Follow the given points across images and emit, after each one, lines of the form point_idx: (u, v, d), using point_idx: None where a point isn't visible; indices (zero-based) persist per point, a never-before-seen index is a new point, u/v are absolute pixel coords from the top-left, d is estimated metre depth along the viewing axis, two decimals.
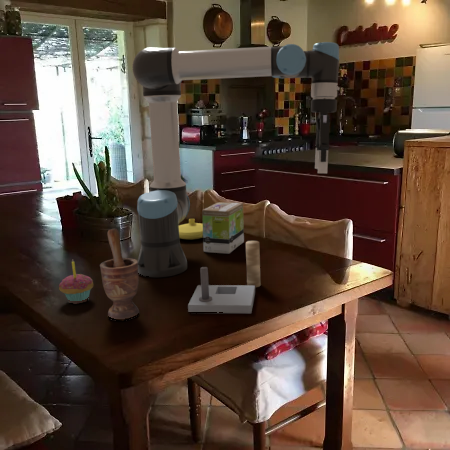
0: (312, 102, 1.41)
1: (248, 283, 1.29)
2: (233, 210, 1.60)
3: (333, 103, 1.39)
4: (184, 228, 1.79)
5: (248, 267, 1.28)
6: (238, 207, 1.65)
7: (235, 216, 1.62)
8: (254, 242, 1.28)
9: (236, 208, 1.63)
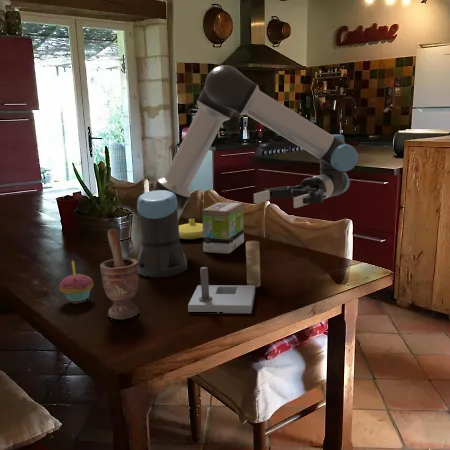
0: (317, 178, 1.45)
1: (248, 283, 1.29)
2: (233, 210, 1.60)
3: None
4: (184, 228, 1.79)
5: (248, 267, 1.28)
6: (238, 207, 1.65)
7: (235, 216, 1.62)
8: (254, 242, 1.28)
9: (236, 208, 1.63)
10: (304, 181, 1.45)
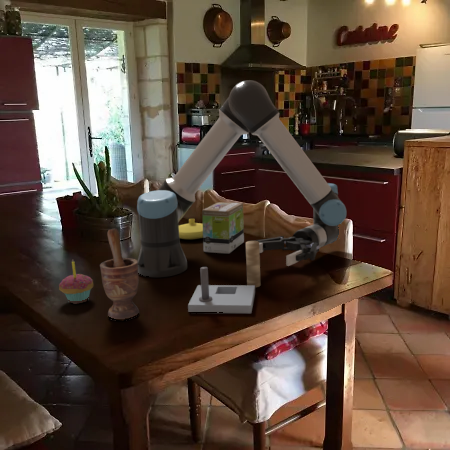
0: (311, 230, 1.45)
1: (248, 283, 1.29)
2: (233, 210, 1.60)
3: None
4: (184, 228, 1.79)
5: (248, 267, 1.28)
6: (238, 207, 1.65)
7: (235, 216, 1.62)
8: (254, 242, 1.27)
9: (236, 208, 1.63)
10: (297, 232, 1.45)
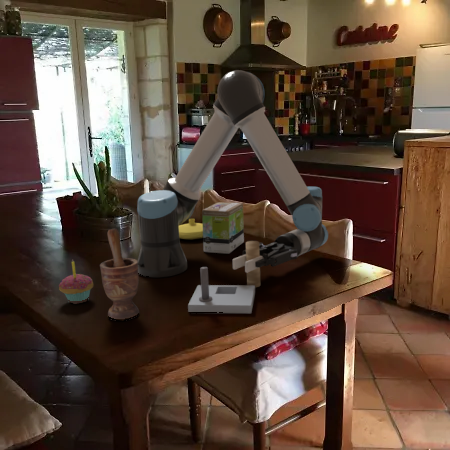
0: (293, 235, 1.39)
1: (248, 283, 1.29)
2: (233, 210, 1.60)
3: (296, 256, 1.39)
4: (184, 228, 1.79)
5: None
6: (238, 207, 1.65)
7: (235, 216, 1.62)
8: (254, 242, 1.27)
9: (236, 208, 1.63)
10: (279, 238, 1.39)
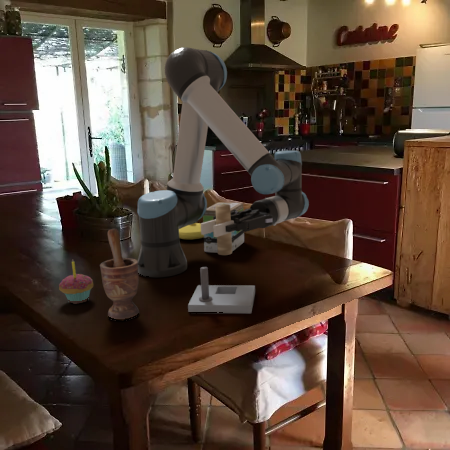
0: (269, 201, 1.28)
1: (218, 250, 1.19)
2: None
3: (273, 223, 1.29)
4: (184, 228, 1.79)
5: None
6: (239, 207, 1.65)
7: None
8: (224, 205, 1.17)
9: (237, 208, 1.63)
10: (254, 204, 1.29)
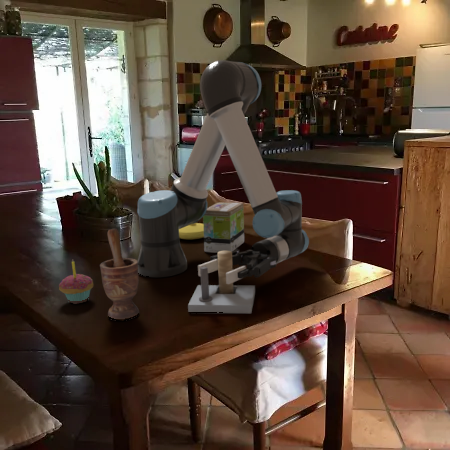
0: (270, 242, 1.31)
1: None
2: (234, 210, 1.60)
3: None
4: (184, 228, 1.79)
5: (220, 279, 1.20)
6: (239, 207, 1.65)
7: (236, 216, 1.62)
8: (226, 252, 1.20)
9: (237, 208, 1.63)
10: (255, 245, 1.31)
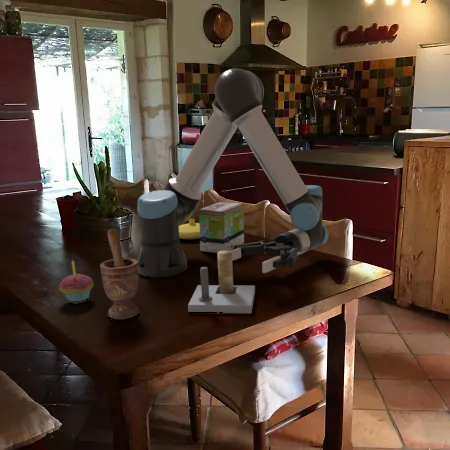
0: (292, 234, 1.37)
1: None
2: (230, 210, 1.60)
3: None
4: (184, 228, 1.79)
5: (220, 279, 1.20)
6: (237, 207, 1.65)
7: (232, 217, 1.62)
8: (226, 252, 1.20)
9: (234, 208, 1.63)
10: (278, 237, 1.38)
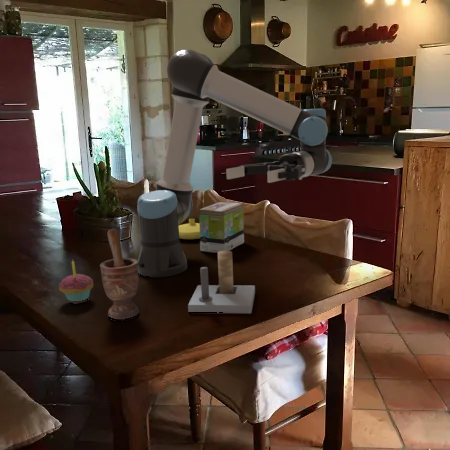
0: (296, 154, 1.35)
1: None
2: (230, 210, 1.60)
3: (299, 176, 1.35)
4: (184, 228, 1.79)
5: (220, 279, 1.20)
6: (237, 207, 1.65)
7: (232, 217, 1.62)
8: (226, 252, 1.20)
9: (234, 208, 1.63)
10: (282, 157, 1.35)
